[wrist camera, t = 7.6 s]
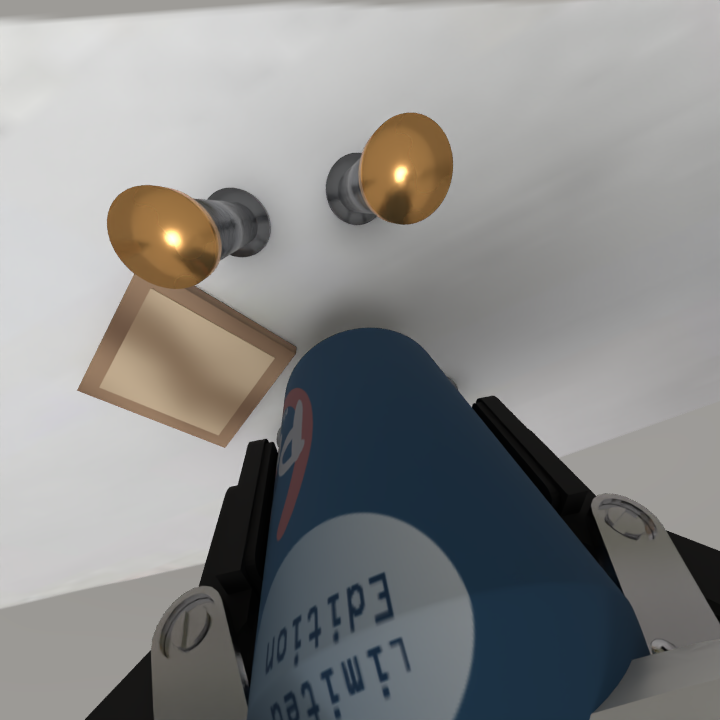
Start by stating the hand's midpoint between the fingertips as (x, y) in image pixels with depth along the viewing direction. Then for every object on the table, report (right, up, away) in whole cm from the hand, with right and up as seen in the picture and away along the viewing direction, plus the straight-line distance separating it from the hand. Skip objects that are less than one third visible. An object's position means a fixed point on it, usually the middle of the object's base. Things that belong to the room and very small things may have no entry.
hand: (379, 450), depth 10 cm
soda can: (-1, +2, +4) cm, 5 cm away
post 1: (-7, +10, +5) cm, 13 cm away
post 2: (-1, +12, +5) cm, 13 cm away
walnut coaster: (-11, +3, +8) cm, 14 cm away
